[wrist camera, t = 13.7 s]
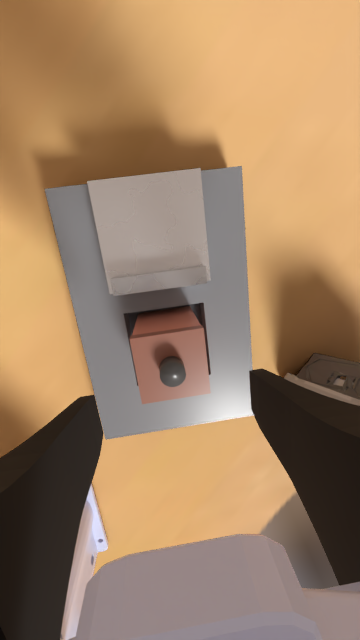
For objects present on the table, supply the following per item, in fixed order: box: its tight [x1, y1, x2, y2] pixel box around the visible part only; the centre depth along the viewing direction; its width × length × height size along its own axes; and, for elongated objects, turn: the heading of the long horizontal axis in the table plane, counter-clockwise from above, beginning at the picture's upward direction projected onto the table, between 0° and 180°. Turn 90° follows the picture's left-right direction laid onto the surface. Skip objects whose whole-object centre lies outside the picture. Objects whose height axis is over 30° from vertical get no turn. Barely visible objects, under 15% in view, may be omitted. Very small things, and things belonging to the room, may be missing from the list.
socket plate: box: [45, 166, 254, 439], centre depth 19 cm, size 18×12×2 cm, turn 7°
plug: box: [130, 306, 211, 404], centre depth 17 cm, size 4×4×7 cm
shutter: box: [87, 168, 211, 296], centre depth 15 cm, size 6×6×2 cm
